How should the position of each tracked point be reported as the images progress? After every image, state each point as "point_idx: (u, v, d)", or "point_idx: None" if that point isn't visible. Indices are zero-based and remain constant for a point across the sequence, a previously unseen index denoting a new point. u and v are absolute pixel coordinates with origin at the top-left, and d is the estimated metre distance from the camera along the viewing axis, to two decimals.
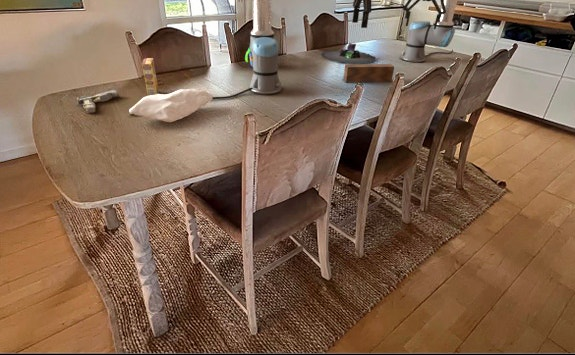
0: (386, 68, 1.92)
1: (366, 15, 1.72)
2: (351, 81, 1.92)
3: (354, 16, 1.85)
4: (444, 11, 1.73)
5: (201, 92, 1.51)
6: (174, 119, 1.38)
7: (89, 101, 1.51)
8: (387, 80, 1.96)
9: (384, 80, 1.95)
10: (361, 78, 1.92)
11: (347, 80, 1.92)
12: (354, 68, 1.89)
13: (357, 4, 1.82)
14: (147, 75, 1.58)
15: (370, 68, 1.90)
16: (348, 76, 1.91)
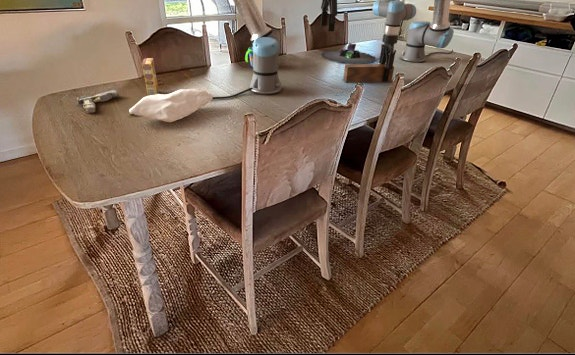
0: None
1: (332, 18, 1.64)
2: (351, 81, 1.92)
3: (322, 19, 1.78)
4: None
5: (201, 92, 1.51)
6: (174, 119, 1.38)
7: (89, 101, 1.51)
8: None
9: None
10: (361, 78, 1.92)
11: (347, 80, 1.92)
12: (354, 68, 1.89)
13: (325, 6, 1.74)
14: (147, 75, 1.58)
15: (370, 68, 1.90)
16: (348, 76, 1.91)
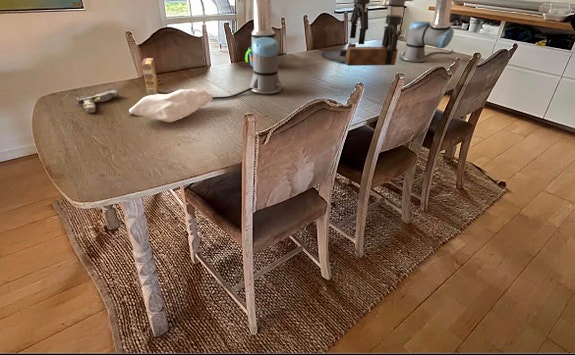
0: None
1: (363, 32, 1.74)
2: (354, 64, 1.88)
3: (351, 32, 1.87)
4: None
5: (201, 92, 1.51)
6: (174, 119, 1.38)
7: (89, 101, 1.51)
8: None
9: None
10: (363, 61, 1.88)
11: (349, 63, 1.87)
12: (356, 50, 1.84)
13: (354, 20, 1.84)
14: (147, 75, 1.58)
15: (373, 50, 1.85)
16: (351, 59, 1.86)
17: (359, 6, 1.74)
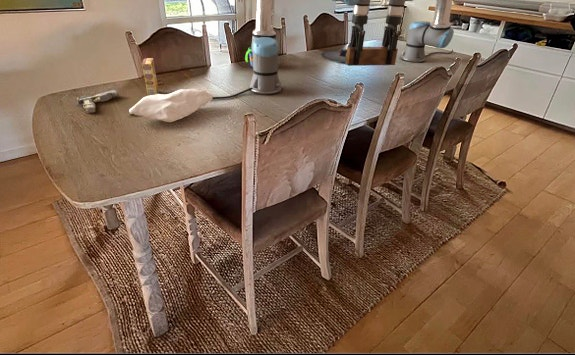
0: None
1: (357, 53, 1.83)
2: None
3: None
4: None
5: (201, 92, 1.51)
6: (174, 119, 1.38)
7: (89, 101, 1.51)
8: None
9: None
10: (363, 61, 1.88)
11: (349, 63, 1.87)
12: None
13: (354, 43, 1.87)
14: (147, 75, 1.58)
15: (373, 50, 1.85)
16: (351, 59, 1.86)
17: (357, 26, 1.79)
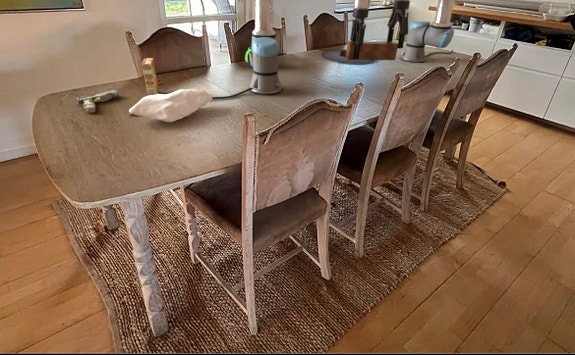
0: (390, 45, 1.85)
1: (358, 48, 1.81)
2: None
3: None
4: None
5: (201, 92, 1.51)
6: (174, 119, 1.38)
7: (89, 101, 1.51)
8: (391, 58, 1.89)
9: (388, 58, 1.89)
10: (364, 55, 1.86)
11: (349, 57, 1.85)
12: None
13: (354, 37, 1.85)
14: (147, 75, 1.58)
15: (373, 45, 1.84)
16: (351, 53, 1.84)
17: (358, 20, 1.78)
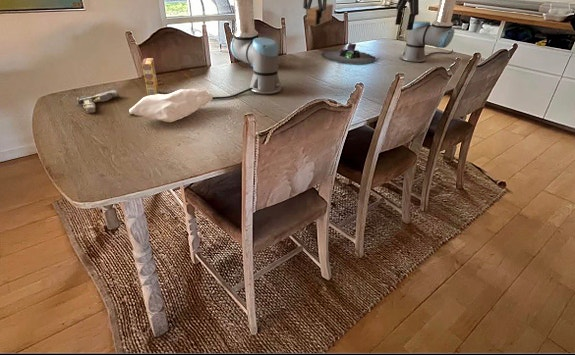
0: (330, 7, 2.09)
1: (321, 13, 1.96)
2: None
3: None
4: None
5: (201, 92, 1.51)
6: (174, 119, 1.38)
7: (89, 101, 1.51)
8: (330, 19, 2.14)
9: (329, 19, 2.13)
10: (321, 19, 2.02)
11: (315, 23, 1.97)
12: (318, 10, 1.96)
13: (310, 4, 1.96)
14: (147, 75, 1.58)
15: None
16: (316, 19, 1.96)
17: None
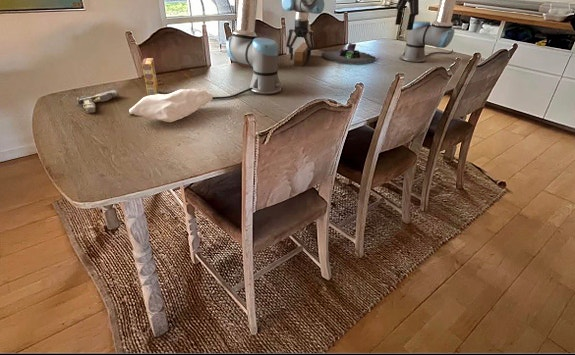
0: None
1: (310, 51, 2.13)
2: (303, 63, 2.17)
3: (292, 54, 2.16)
4: None
5: (201, 92, 1.51)
6: (174, 119, 1.38)
7: (89, 101, 1.51)
8: None
9: None
10: (304, 59, 2.21)
11: (302, 64, 2.15)
12: (304, 52, 2.14)
13: (293, 43, 2.13)
14: (147, 75, 1.58)
15: (306, 48, 2.21)
16: (302, 60, 2.15)
17: (302, 29, 2.07)
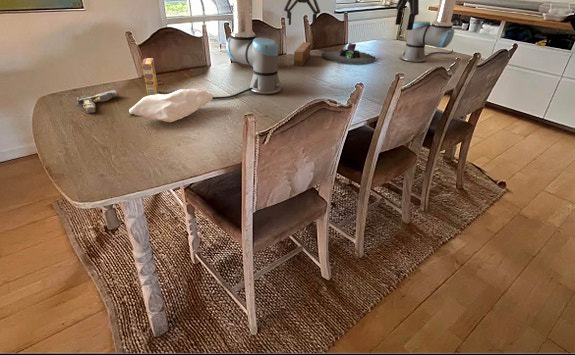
0: (309, 45, 2.29)
1: (316, 16, 2.02)
2: (303, 63, 2.17)
3: (290, 19, 2.06)
4: None
5: (201, 92, 1.51)
6: (174, 119, 1.38)
7: (89, 101, 1.51)
8: (309, 55, 2.34)
9: (308, 56, 2.33)
10: (304, 59, 2.21)
11: (302, 64, 2.15)
12: (304, 52, 2.14)
13: None
14: (147, 75, 1.58)
15: (306, 48, 2.21)
16: (302, 60, 2.15)
17: None
